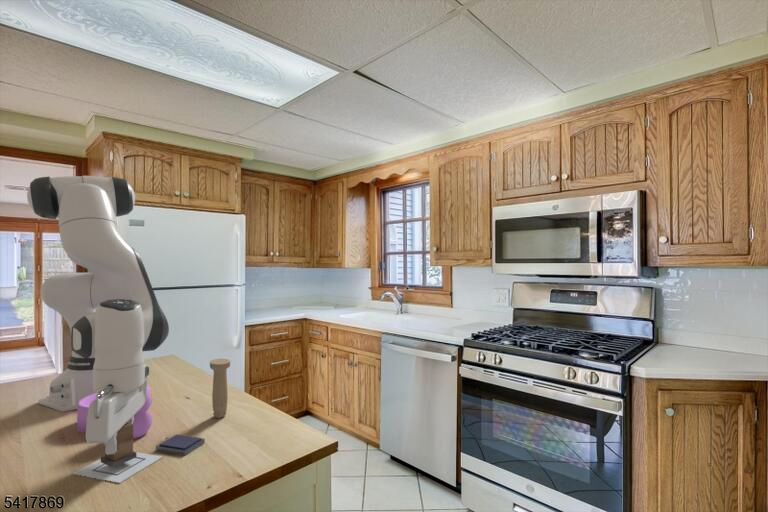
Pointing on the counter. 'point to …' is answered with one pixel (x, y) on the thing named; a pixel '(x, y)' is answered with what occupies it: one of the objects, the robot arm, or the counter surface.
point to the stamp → (121, 447)
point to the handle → (219, 386)
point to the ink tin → (180, 444)
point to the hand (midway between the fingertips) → (118, 445)
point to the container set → (140, 421)
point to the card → (118, 468)
